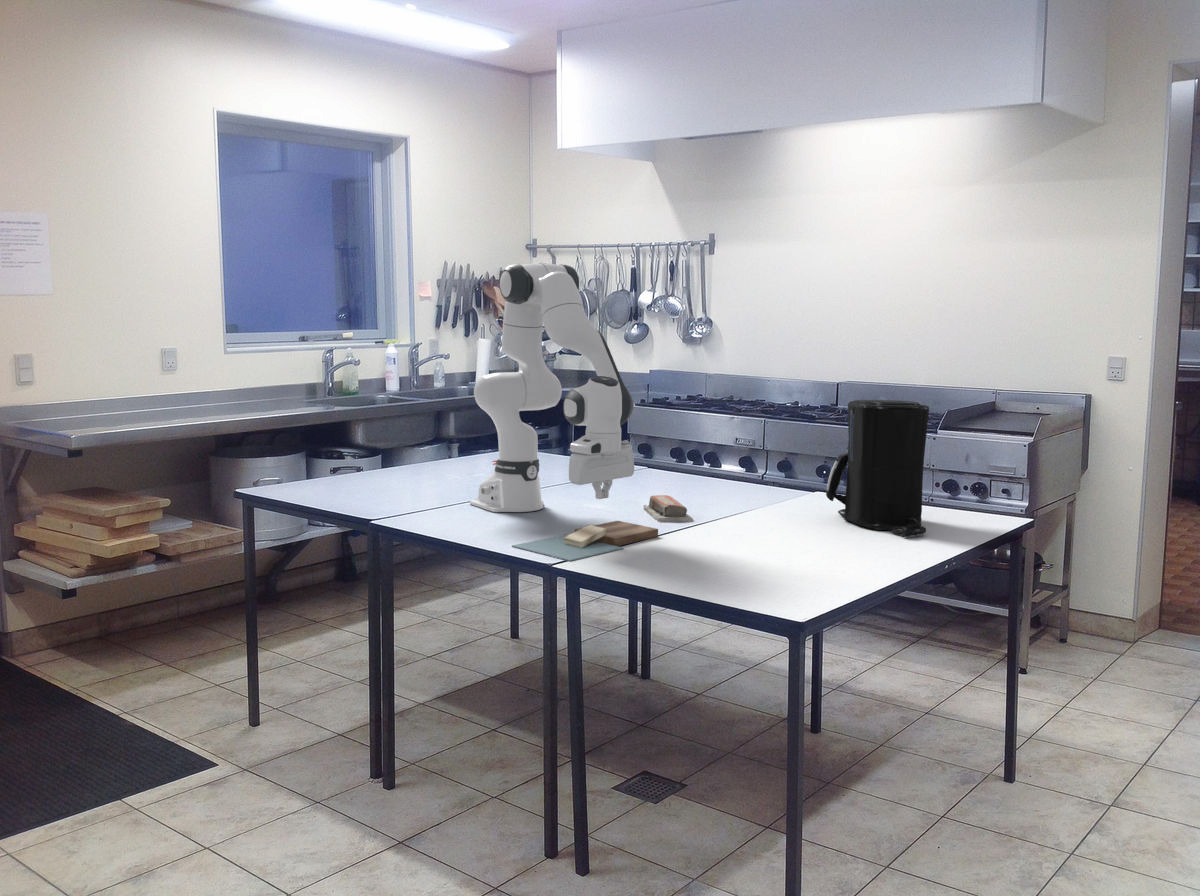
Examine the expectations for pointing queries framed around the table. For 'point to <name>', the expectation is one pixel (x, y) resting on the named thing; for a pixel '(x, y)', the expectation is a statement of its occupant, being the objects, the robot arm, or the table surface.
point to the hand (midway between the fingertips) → (601, 498)
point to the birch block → (585, 536)
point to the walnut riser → (625, 533)
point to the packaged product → (666, 509)
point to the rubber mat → (566, 548)
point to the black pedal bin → (883, 466)
